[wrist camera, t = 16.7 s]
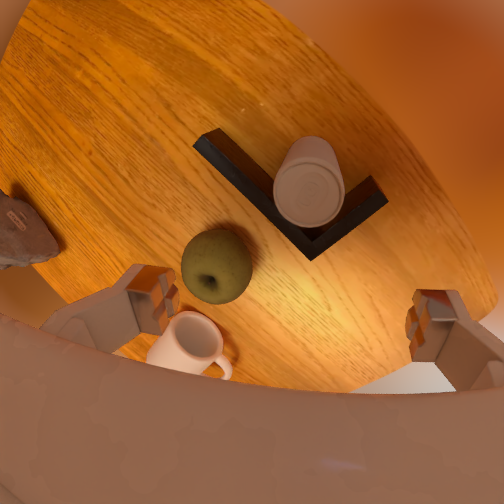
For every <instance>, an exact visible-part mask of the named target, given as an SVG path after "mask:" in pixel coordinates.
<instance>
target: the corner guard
mask: <svg viewBox="0 0 504 504" xmlns="http://www.w3.org/2000/svg"><path fill="white" fill-rule="evenodd" d="M193 147H194V148H195V149H196V150H197V151H198V152H199V153H200V154H201V155H202V156H203V157H204V158H205V159H206V160H208V161H209V162H210V163H211V164H212V165H213V166H214V167H215V168H216V169H217V170H218V171H219V172H220V173H221V174H222V175H223V176H224V177H225V178H226V179H228V180H229V181H230V182H231V183H232V184H233V185H234V186H235V187H236V188H237V189H238V190H239V191H240V192H241V193H242V194H243V195H244V196H245V197H246V198H247V199H248V200H249V201H250V202H251V203H252V204H253V205H254V206H255V207H256V208H257V209H259V210H260V211H261V212H262V213H263V214H264V215H265V216H266V217H267V218H268V219H269V220H270V221H271V222H272V223H273V224H274V225H275V226H276V227H277V228H278V229H279V230H280V231H281V232H282V233H283V234H284V235H285V236H286V237H287V238H288V239H289V240H290V241H291V242H292V243H293V244H294V245H295V246H296V247H297V248H298V249H299V250H300V251H301V252H302V253H303V254H304V255H305V256H306V257H307V258H308V259H309V260H310V261H312V260H313V259H315V258H316V257H317V256H319V255H320V254H321V253H323V252H324V251H325V250H327V249H328V248H329V247H331V246H332V245H333V244H335V243H336V242H337V241H339V240H340V239H341V238H343V237H344V236H345V235H347V234H348V233H349V232H350V231H352V230H353V229H354V228H356V227H357V226H358V225H360V224H361V223H362V222H363V221H365V220H366V219H367V218H369V217H370V216H371V215H372V214H374V213H375V212H376V211H378V210H379V209H380V208H381V207H383V206H384V205H385V204H386V203H388V202H389V201H388V199H387V197H386V196H385V194H384V192H383V191H382V189H381V187H380V186H379V184H378V183H377V182H376V181H375V179H374V178H373V177H372V176H371V175H370V176H369V177H367V178H366V179H365V180H364V181H362V182H361V183H360V184H359V185H358V186H356V187H355V188H354V189H353V190H351V191H350V192H349V193H348V194H347V195H345V196H344V201H343V204H342V206H341V209H340V211H339V212H338V214H337V215H336V216H335V217H334V218H333V219H332V220H331V221H329V222H328V223H326V224H324V225H321V226H319V227H311V228H309V227H301V226H298V225H295V224H293V223H291V222H290V221H288V220H287V219H285V218H284V217H283V215H282V214H281V213H280V212H279V210H278V208H277V206H276V205H275V200H274V195H273V184H274V180H273V179H272V178H271V177H270V176H269V175H268V174H267V173H266V172H265V171H264V170H263V169H262V168H261V167H260V166H259V165H258V164H257V163H256V162H254V161H253V160H252V159H251V158H250V157H249V156H248V155H247V154H246V153H245V152H244V151H243V150H242V149H241V148H240V147H239V146H238V145H237V144H236V143H235V142H234V141H233V140H232V139H230V138H229V137H228V136H227V135H226V134H225V133H224V132H223V131H222V130H221V129H220V128H218V129H215V130H213V131H210V132H208V133H205V134H203V135H202V136H201V137H200V138H199V139H198V140H197V141H196V142H195V144H194V145H193Z"/></svg>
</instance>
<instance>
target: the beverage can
mask: <svg viewBox="0 0 504 504" xmlns="http://www.w3.org/2000/svg"><path fill="white" fill-rule="evenodd" d="M273 195H274V200H275V205H276V206H277V208H278V210H279V212H280V213H281V214H282V215H283V217H284V218H285V219H287V220H288V221H290V222H291V223H293V224H295V225H298V226H301V227H309V228H311V227H319V226H321V225H324V224H326V223H328V222H329V221H331V220H332V219H333V218H334V217H335V216H336V215H337V214H338V212H339V211H340V209H341V206H342V204H343V201H344V195H345V188H344V181H343V178H342V175H341V171H340V168H339V165H338V161H337V158H336V155H335V152H334V150H333V148H332V147H331V145H330V144H329V143H328V142H327V141H325V140H324V139H322V138H319V137H316V136H306V137H302V138H300V139H298V140H297V141H296V142H294V143H293V145H292V146H291V148H290V149H289V151H288V153H287V155H286V157H285V159H284V161H283V163H282V165H281V167H280V169H279V171H278V173H277V175H276V178H275V181H274V184H273Z"/></svg>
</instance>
